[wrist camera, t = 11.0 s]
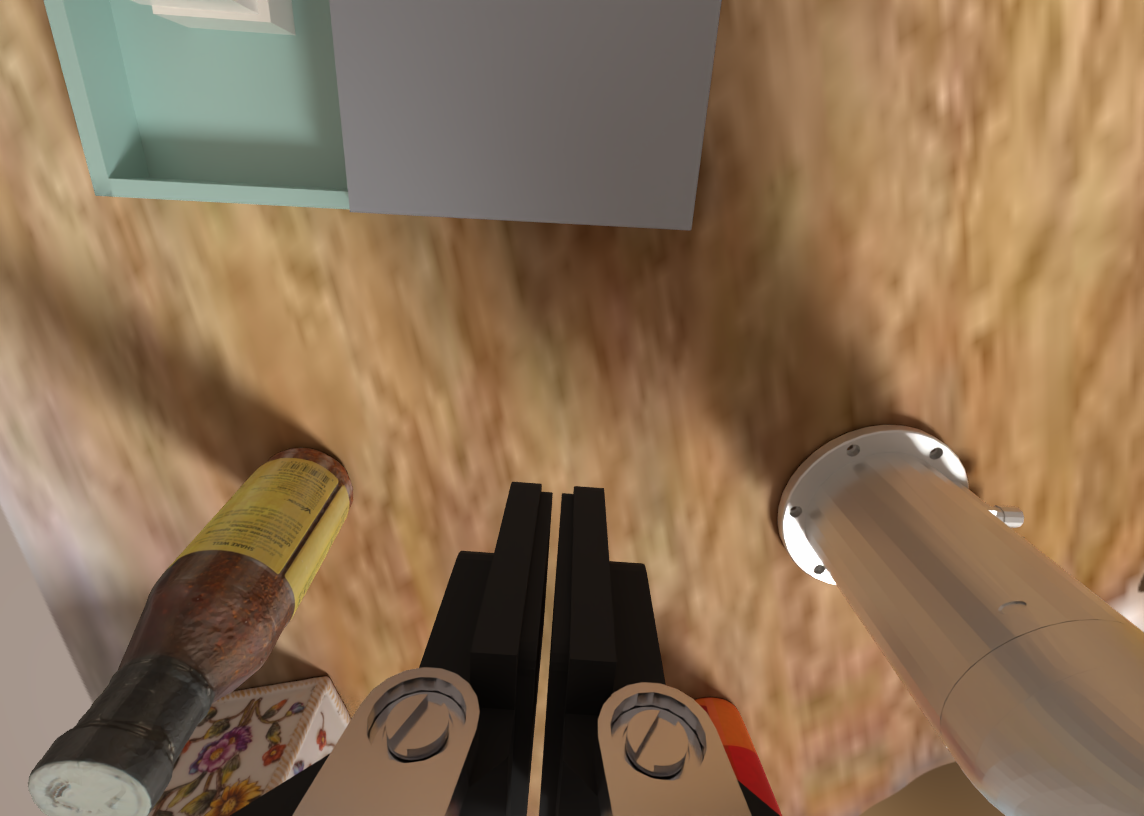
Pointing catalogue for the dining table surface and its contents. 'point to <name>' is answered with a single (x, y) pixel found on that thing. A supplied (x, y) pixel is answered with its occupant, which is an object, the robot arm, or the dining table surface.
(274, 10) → the tile
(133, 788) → the sauce bottle
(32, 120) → the dining table surface
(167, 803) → the decorative jar
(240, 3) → the tile
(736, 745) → the coffee cup
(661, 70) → the slate block
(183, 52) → the box
